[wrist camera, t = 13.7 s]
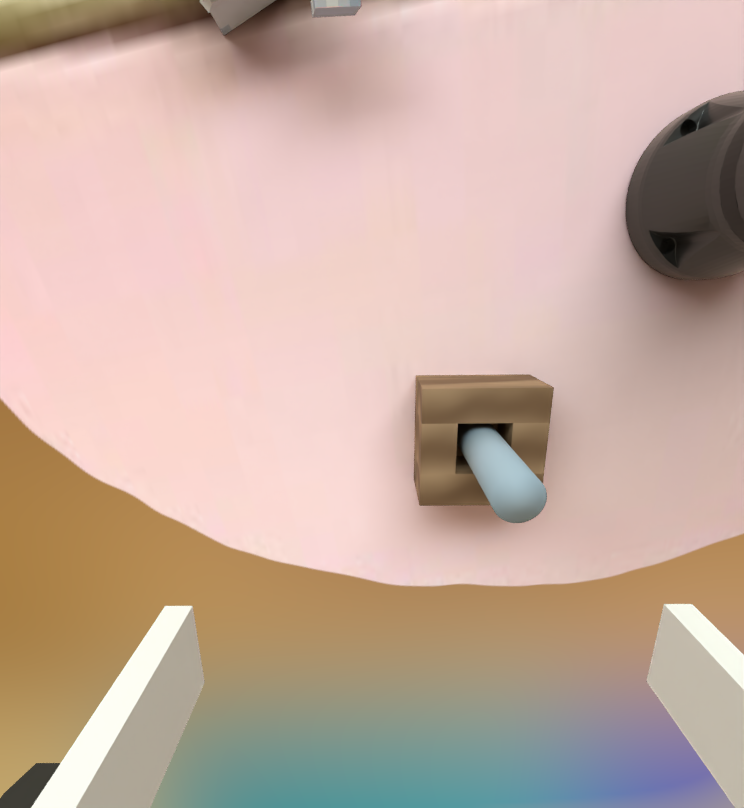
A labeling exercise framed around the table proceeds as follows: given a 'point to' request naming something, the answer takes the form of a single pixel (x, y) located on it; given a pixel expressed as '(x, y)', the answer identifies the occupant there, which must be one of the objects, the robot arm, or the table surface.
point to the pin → (501, 473)
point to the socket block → (475, 403)
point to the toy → (238, 3)
